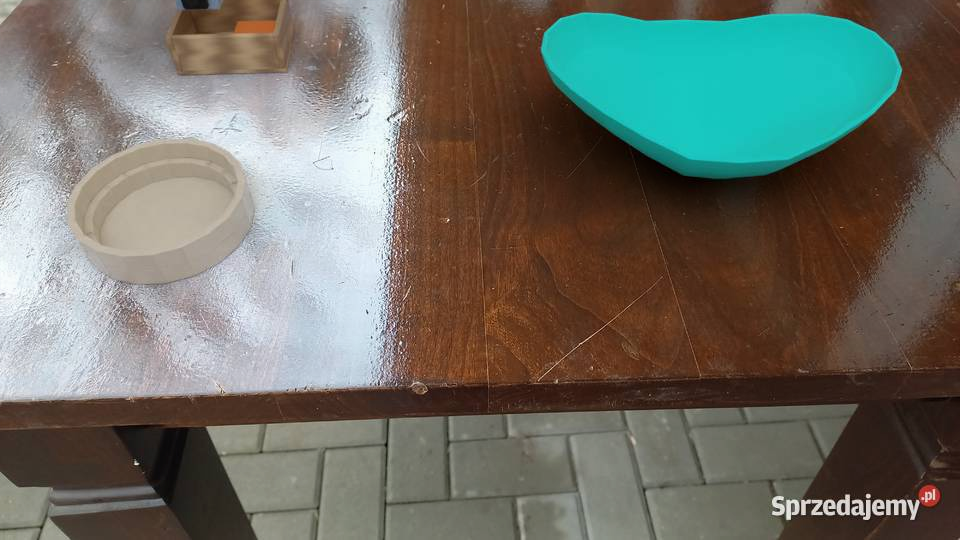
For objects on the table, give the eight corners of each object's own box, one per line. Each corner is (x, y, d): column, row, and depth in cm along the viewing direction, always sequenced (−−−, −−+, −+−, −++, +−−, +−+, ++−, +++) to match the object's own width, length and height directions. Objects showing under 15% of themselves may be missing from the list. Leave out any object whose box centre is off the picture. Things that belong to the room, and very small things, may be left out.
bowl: (64, 292, 70) (41, 259, 66) (112, 174, 81) (94, 141, 77) (242, 284, 71) (229, 251, 67) (264, 169, 82) (254, 135, 78)
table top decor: (540, 223, 77) (552, 127, 67) (524, 78, 95) (532, -15, 85) (890, 221, 78) (953, 127, 68) (809, 79, 96) (850, -13, 86)
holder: (178, 75, 94) (164, 38, 90) (193, 33, 101) (181, -4, 97) (286, 72, 95) (278, 35, 91) (294, 30, 102) (287, -6, 97)
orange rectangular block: (239, 55, 96) (233, 34, 94) (242, 41, 99) (237, 21, 96) (279, 54, 97) (274, 33, 94) (282, 40, 99) (277, 20, 96)
